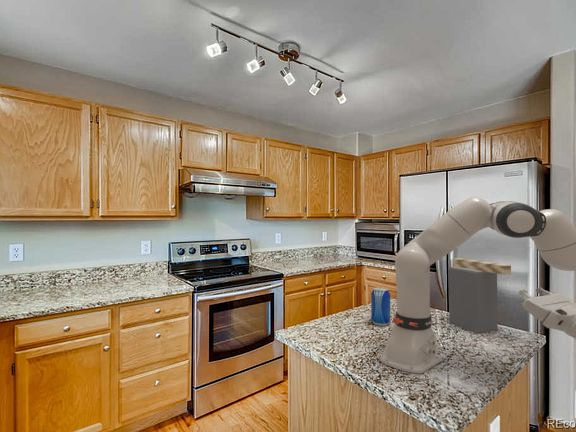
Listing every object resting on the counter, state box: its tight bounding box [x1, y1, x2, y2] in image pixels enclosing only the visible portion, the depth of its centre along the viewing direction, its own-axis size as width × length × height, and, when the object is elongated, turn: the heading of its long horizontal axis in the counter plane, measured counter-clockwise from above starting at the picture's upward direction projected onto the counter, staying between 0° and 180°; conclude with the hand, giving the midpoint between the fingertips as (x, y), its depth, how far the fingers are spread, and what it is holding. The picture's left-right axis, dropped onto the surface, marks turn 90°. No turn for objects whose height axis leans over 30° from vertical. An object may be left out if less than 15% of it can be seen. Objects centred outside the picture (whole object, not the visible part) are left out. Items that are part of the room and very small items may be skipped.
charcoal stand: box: [448, 266, 499, 335], centre depth 136 cm, size 14×12×26 cm
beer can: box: [370, 286, 391, 327], centre depth 141 cm, size 8×8×16 cm
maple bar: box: [452, 257, 512, 276], centre depth 133 cm, size 24×4×4 cm, turn 20°
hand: (529, 289), depth 115 cm, fingers open, 8 cm apart
